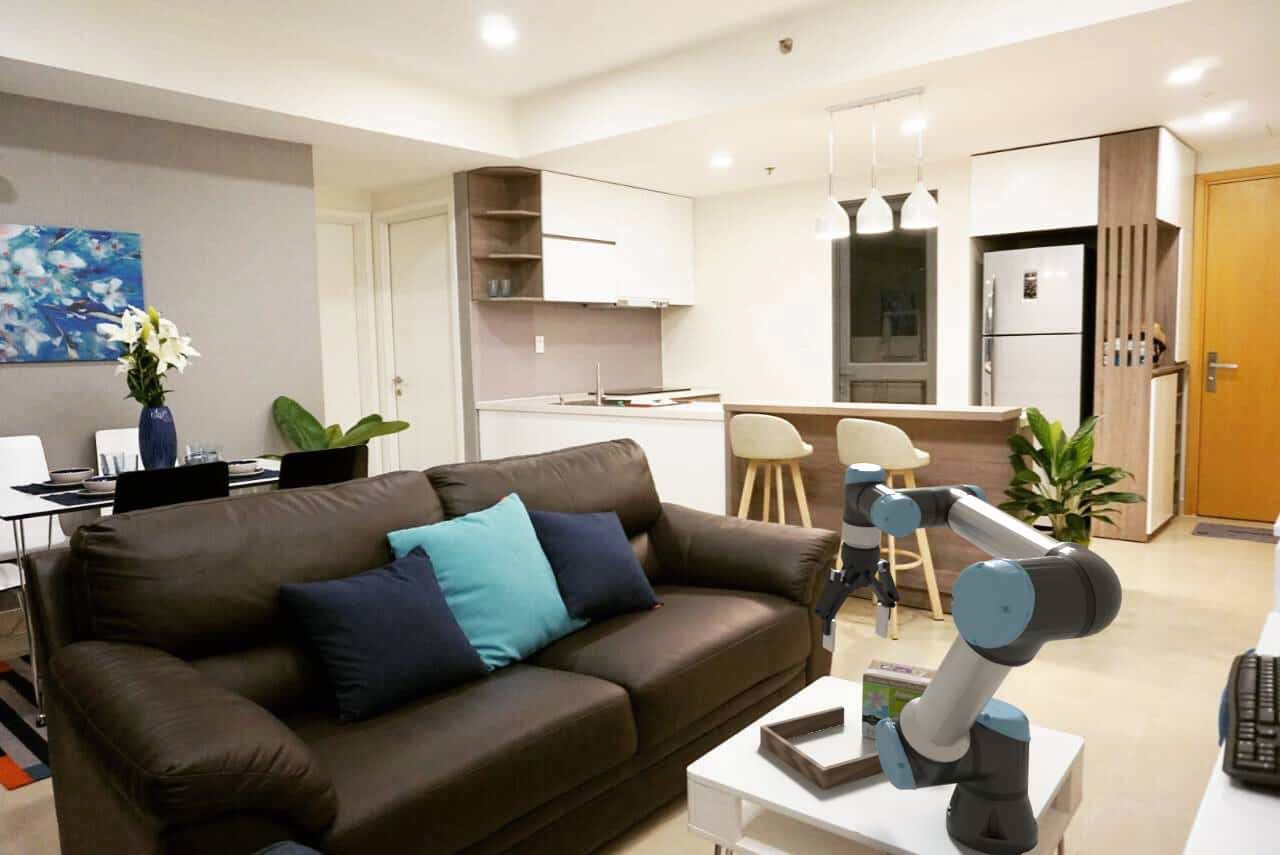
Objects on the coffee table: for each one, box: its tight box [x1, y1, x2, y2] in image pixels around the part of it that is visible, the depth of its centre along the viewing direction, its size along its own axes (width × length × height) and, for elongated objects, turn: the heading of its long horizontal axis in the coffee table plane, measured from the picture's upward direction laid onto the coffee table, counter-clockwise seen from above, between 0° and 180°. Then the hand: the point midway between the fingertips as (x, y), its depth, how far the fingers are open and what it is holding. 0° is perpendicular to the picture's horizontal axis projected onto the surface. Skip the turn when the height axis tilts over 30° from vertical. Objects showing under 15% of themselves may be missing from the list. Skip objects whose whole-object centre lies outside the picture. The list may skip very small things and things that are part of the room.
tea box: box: [861, 659, 938, 739], centre depth 189 cm, size 15×10×15 cm, turn 62°
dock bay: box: [759, 705, 884, 791], centre depth 182 cm, size 22×22×4 cm
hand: (855, 642), depth 174 cm, fingers open, 13 cm apart
